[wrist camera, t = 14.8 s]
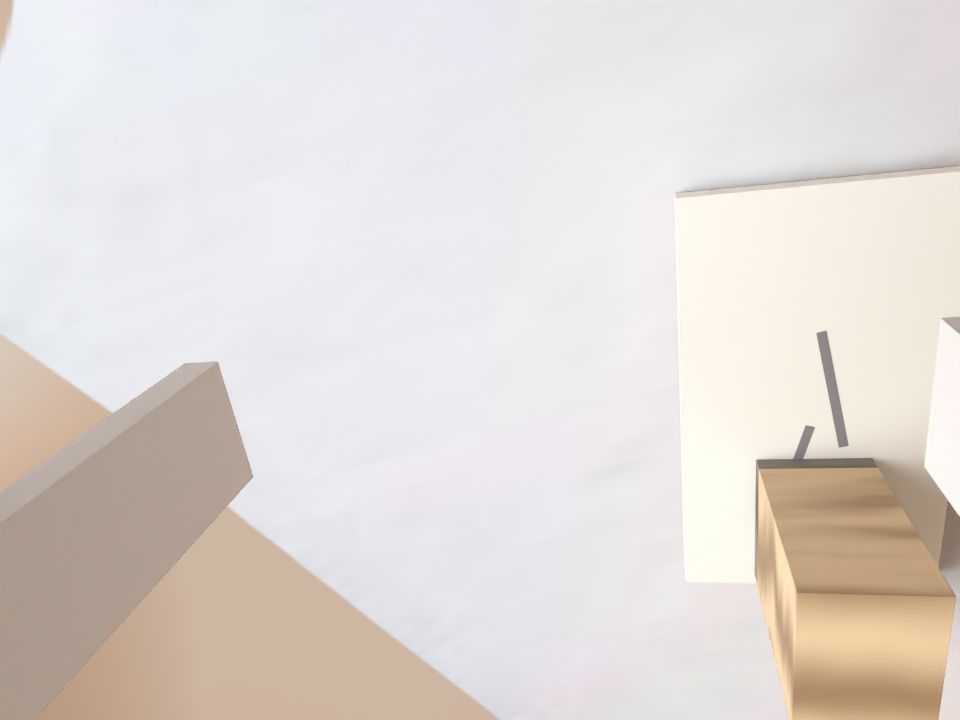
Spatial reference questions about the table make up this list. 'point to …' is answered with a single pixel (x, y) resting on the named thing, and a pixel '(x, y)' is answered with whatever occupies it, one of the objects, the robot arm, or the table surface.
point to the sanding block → (848, 593)
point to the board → (809, 343)
